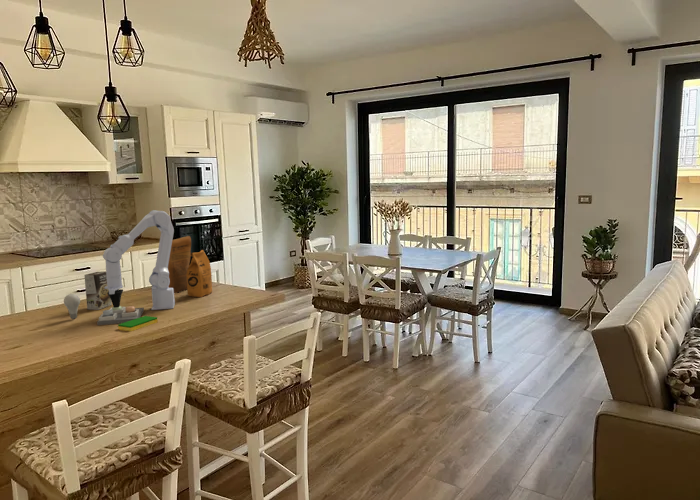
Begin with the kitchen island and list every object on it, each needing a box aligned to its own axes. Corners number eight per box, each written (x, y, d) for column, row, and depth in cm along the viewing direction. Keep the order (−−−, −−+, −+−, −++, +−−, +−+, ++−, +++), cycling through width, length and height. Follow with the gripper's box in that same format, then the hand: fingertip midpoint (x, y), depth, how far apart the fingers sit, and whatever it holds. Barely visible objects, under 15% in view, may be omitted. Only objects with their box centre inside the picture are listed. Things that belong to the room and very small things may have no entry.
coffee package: (184, 296, 251) (181, 253, 248) (198, 291, 263) (195, 249, 260) (201, 297, 248) (198, 253, 245) (215, 292, 260) (212, 249, 257)
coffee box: (99, 310, 229) (96, 274, 227) (86, 309, 230) (83, 274, 228) (112, 305, 238) (109, 271, 235) (100, 304, 239) (97, 270, 237)
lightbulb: (85, 317, 216) (82, 292, 214) (73, 321, 210) (70, 295, 209) (74, 316, 218) (71, 291, 216) (62, 320, 212) (59, 295, 211)
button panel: (143, 310, 226) (143, 304, 225) (137, 321, 208) (136, 314, 208) (107, 313, 222) (106, 306, 222) (97, 325, 205) (96, 318, 204)
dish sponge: (117, 330, 198) (117, 324, 198) (145, 321, 211) (145, 315, 210) (131, 332, 195) (130, 326, 195) (158, 322, 208) (157, 317, 207)
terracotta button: (135, 310, 216) (135, 305, 215) (134, 312, 212) (133, 307, 212) (126, 311, 215) (126, 306, 215) (125, 313, 211) (124, 308, 211)
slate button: (113, 314, 210) (113, 309, 210) (111, 316, 207) (111, 311, 207) (104, 314, 210) (103, 310, 209) (102, 317, 206) (101, 312, 206)
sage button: (122, 310, 221) (122, 305, 220) (120, 312, 217) (120, 307, 217) (113, 310, 220) (113, 306, 219) (111, 312, 216) (111, 308, 216)
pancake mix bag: (198, 287, 273) (195, 235, 269) (173, 294, 256) (169, 239, 252) (188, 286, 276) (185, 235, 272) (163, 294, 259) (159, 239, 255)
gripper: (107, 273, 222) (110, 303, 224) (99, 279, 208) (102, 312, 210) (124, 272, 224) (127, 302, 226) (118, 278, 210) (121, 310, 212)
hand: (116, 307), depth 218 cm, fingers closed, pressing on sage button
